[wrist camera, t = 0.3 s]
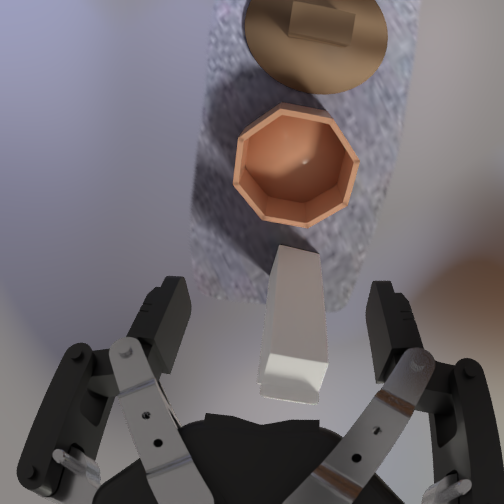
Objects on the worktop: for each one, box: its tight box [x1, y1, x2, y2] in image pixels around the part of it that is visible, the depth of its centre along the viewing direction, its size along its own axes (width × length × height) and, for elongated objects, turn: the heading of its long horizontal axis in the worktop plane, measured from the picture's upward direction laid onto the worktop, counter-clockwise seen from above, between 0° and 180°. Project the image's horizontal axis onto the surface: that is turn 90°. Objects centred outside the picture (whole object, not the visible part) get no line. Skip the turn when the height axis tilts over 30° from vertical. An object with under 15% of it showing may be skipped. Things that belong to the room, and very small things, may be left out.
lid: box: [245, 0, 388, 94], centre depth 25 cm, size 16×16×6 cm
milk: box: [257, 245, 329, 405], centre depth 36 cm, size 6×6×22 cm
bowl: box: [233, 102, 360, 228], centre depth 34 cm, size 13×13×6 cm
